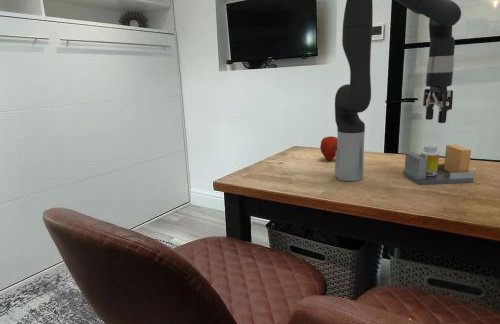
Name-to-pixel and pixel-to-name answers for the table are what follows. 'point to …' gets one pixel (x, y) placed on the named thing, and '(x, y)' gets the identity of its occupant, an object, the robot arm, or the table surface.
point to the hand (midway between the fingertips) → (435, 121)
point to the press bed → (417, 173)
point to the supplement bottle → (431, 159)
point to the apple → (329, 147)
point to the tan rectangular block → (457, 159)
